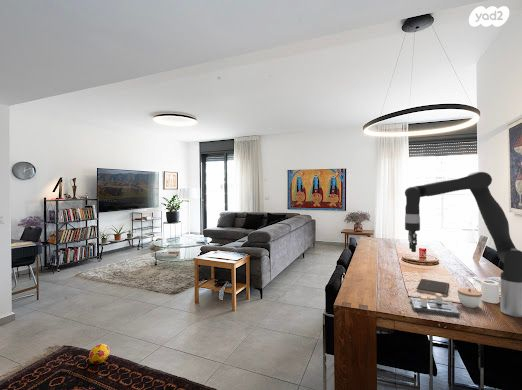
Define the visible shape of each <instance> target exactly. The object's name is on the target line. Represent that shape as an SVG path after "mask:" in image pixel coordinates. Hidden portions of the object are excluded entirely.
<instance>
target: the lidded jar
mask: <svg viewBox="0 0 522 390" xmlns="http://www.w3.org/2000/svg"><path fill="white" fill-rule="evenodd" d="M457 297H458V300H459V302H460V303H461V304H462V305H463V306H464V307H467V308H471V309H472V308H473V309H475V308H477V307H479V306H480V305H481V303H482V301H483V293H482V292H481V291H479V290H477V289H473V288H469V287H468V288H467V287H466V288H465V287H460V288H458V289H457Z"/></svg>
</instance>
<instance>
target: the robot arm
mask: <svg viewBox="0 0 522 390" xmlns="http://www.w3.org/2000/svg"><path fill="white" fill-rule="evenodd" d="M492 182H493V178H492V176H491V175H490V173H488V172H485V171H475V172H474V171H473V172H470V173H469V174H468V175H466V176H464V177H460V178H454V179H447V180H440V181H435V182H430V183H429V182H428V183H427V184H423V185H415V186H409V187H407V188H406V189H405V190H404V195H405V198H406V199H405V201H406V202H405V203H406V204H405V207H404V208H405V212H404V213H405V214H404V215H405V216H404V230H406V231H408V233H407V234H408V235H407V236H408V242H409V244H408V245H409V247H408V249H409V250H411V252H412V253H416V252H417V245H418V242H417V241H418V239H417V238H418V234H417V232H419V231H421V216H420V202H421V198H422V197H423V198H424V197H432V196H433V197H434V196H439V195H443V194H448V193H452V192H458V191H463V190H464V191H465V190H469V191H470V192H471V194H472V195H473V197H474V199H475V202H476V205H477V207H478V210H479V212H480V215H481V218H482V220H483V222H484V225H485V226H486V228H487V231H488V233H489V234H490V237H491V238H492V241H493V243H494V246H495V249H496V253H497V256H498V259H499V260H500V261H501V262H502V263H503V271H502V272H500V312H501V313H503V314H505V315H508V316H510V317H516V318H522V251H521V250H519V249H517V247H516V246H515V244H514V243H513V240H512V238H511V236H510V235H511V234H510V224H509V221H508V217H507V216H506V214H505V212H504V210H503V208H502V206H500V204H499V202H497V200H496V199H495V198H494V197H493V195H492V194H491V191H490V188H489V187H490V185H491V184H492Z"/></svg>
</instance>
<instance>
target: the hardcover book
mask: <svg viewBox="0 0 522 390" xmlns="http://www.w3.org/2000/svg"><path fill="white" fill-rule="evenodd" d="M449 290H450V283H449V282H445V281H438V280H433V279H431V280H430V279H427V278H421V279H420V281H419V283H418V285H417V287H416V291H417V292H419V293H424V294H425V293H426V294H431V295H435V296H436V294H435V293H440V294H441V295H442V297H446V298H447V297H448V295H449V294H448V293H449Z"/></svg>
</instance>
